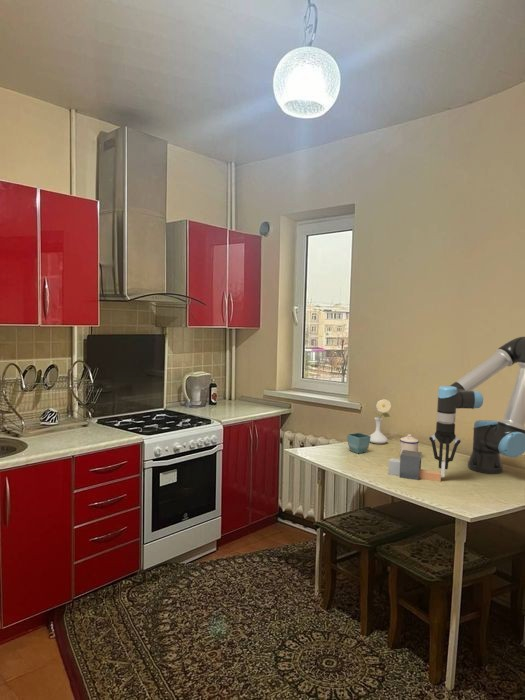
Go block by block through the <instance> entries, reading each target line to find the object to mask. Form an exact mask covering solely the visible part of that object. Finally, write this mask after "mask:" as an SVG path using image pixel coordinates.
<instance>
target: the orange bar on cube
mask: <svg viewBox="0 0 525 700" xmlns="http://www.w3.org/2000/svg"><path fill="white" fill-rule="evenodd" d="M387 471H388V473H387V474H388V475H391V476H399V475H400V458H389V460H388V470H387ZM420 479H422V480H429V481H436V482H441V480H442V477H441V471H436V470H429V469H423V468H421V469H419V480H420Z"/></svg>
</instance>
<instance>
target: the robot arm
mask: <svg viewBox="0 0 525 700" xmlns="http://www.w3.org/2000/svg"><path fill="white" fill-rule="evenodd" d="M515 364H518V367H519V370H518V373H517V376H516V379H515V382H514V385H513V388H512V392H511V395H510V397H509V400H508V403H507V407H506V410H505V413H504V416H503V418H502V419H499V420H487V419H486V420H485V419H484V420H481V419H479V420H476V421H475V422H474V423H473V424H474V425H473V438H472V440H473V442H472V451H471V454H470V456H469V459H468V460H467V461H468V462H467V468H468V469H469V470H472V471H475V472H479V473H482V474H483V473H484V474H494V475H495V474H501V473H503V469H504V466H503V463H502V458H501V455H503V456H504V457H509V458H518V457H520V456H521V455H523V454H524V453H525V336H518V337H515V338H513V339H511V340H509V341H507V342H506V343H504V344H503V345H501V346H500V347H498V348H497V349H496V350H495V353H494V354H492V355H491V356H489V357H488V358H487V359H485V360H484V361H483V362H481V363H480V364H479V365H477V366H476V367H474V368H473V369H471V370H470V371H469V372H467V373H466V374H464V375H463V376H462V377H460V378H459V379H457V380H455V382H453V383H452V384H450V385H441V386H439V388H438V391H437V408H436V427H435V428H436V429H435V432H434V434H433V435H430V436H429V441H430V443H431V445H432V446H431V447H432V452H433V458H434V459H435V460H437V461H438V469H440V472H441V478H445V475H446V470H448V469H449V462H453V460H454V458H455V455H456V452H457V448H458V446H459V444H460V443H461V441H462V440H461V439H460V438H458V437H456V436H457V435H456V434H455V433H456V424H455V423H456V416H457V409H468V410H469V409H472V410H475V409H480V408H481V407H482V406H483V404H484V395H483V394H482V393H481V392H480V391H478V390H477V391H476V390H475V389H477V388H478V387H479V386H481V385H482V384H484V383H485V382H487V381H488V380H490V379H491V378H492V377H493V376H494V375H496V374H498V373H499V372H500V371H502V370H504V368H506V367H512V366H513V365H515ZM436 440H437V441H438V443H439V451H437V447H436ZM453 441H454V442H453ZM452 443H454V445H453V448H452V452H451V454H450V444H452ZM444 444H445V459H444V460H443V450H444V449H443V448H444ZM449 455H450V456H449Z"/></svg>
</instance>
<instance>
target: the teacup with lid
mask: <svg viewBox="0 0 525 700" xmlns="http://www.w3.org/2000/svg"><path fill="white" fill-rule="evenodd" d="M399 441H400V443H399V457H400V456H401V453H402V451H403V450H408V451H416V452H419V442H420V440H419V439H417V438H415V437H414V436H412V434H410V433H409V434H407V435H406V436H403V437H400V439H399Z"/></svg>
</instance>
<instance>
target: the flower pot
mask: <svg viewBox="0 0 525 700" xmlns="http://www.w3.org/2000/svg"><path fill="white" fill-rule="evenodd" d="M346 435H347V438H346V439H347V445H348V448H349V450H350V451H351V452H352V451H353V452H352V453H355V454H357V453H359V454H364V453H366V451H367V450H368V448H369V446H370V443H371V442H370V438H371V436H370V435H368V434H364V433H360V432H354V433H348V434H346ZM363 452H364V453H363Z"/></svg>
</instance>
